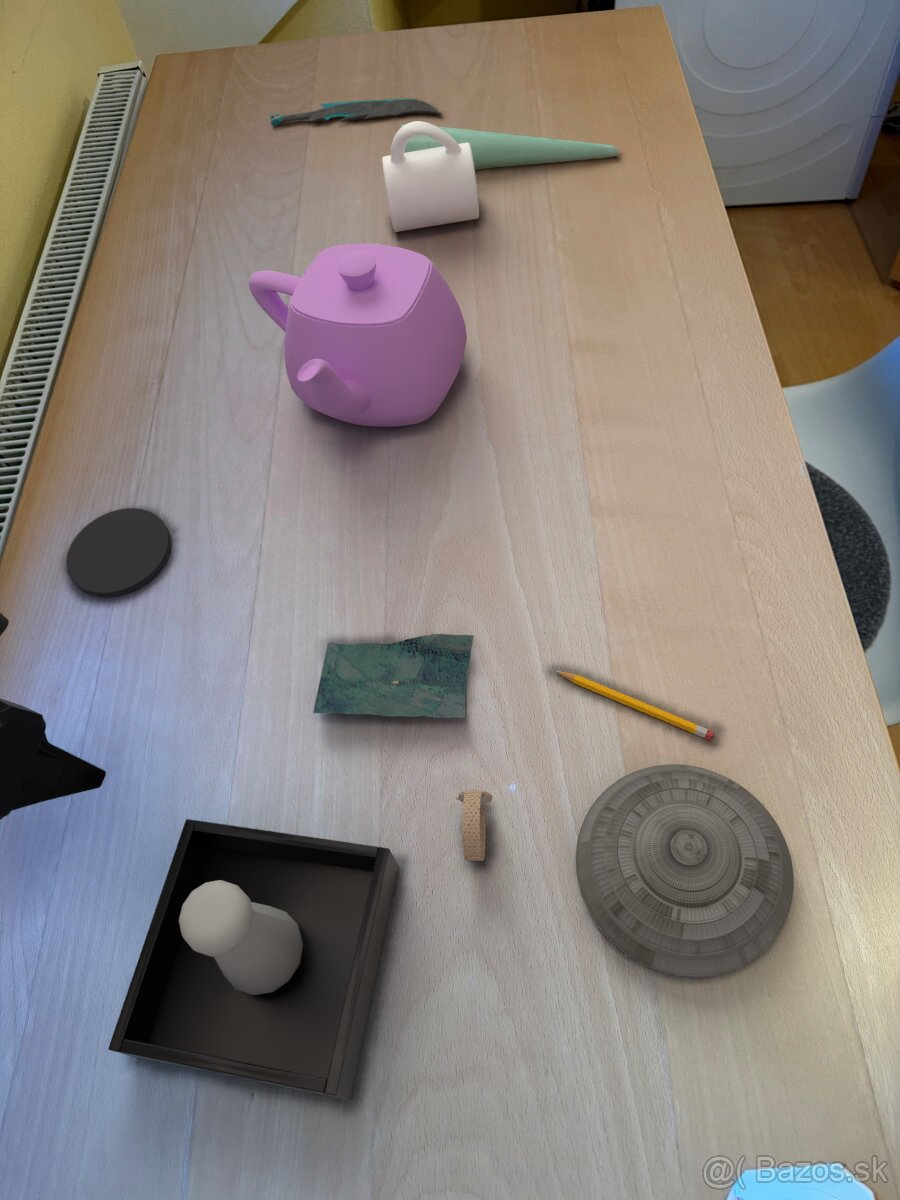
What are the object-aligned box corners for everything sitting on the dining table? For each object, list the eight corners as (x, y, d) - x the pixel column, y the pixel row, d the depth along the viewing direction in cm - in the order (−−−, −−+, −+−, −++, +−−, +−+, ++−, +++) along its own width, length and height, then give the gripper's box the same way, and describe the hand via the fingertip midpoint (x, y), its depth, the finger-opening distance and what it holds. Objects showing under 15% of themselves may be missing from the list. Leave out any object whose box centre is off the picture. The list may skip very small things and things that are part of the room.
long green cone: (620, 125, 107) (397, 139, 111) (618, 169, 112) (404, 181, 115) (619, 100, 110) (402, 115, 113) (617, 144, 114) (409, 156, 118)
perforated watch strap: (494, 807, 69) (489, 783, 65) (493, 869, 67) (488, 848, 62) (459, 807, 70) (452, 783, 65) (457, 869, 67) (450, 848, 63)
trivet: (82, 614, 84) (78, 609, 83) (60, 539, 89) (56, 534, 88) (183, 569, 85) (180, 564, 84) (156, 498, 90) (153, 493, 90)
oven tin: (135, 1057, 62) (107, 1049, 59) (206, 837, 70) (185, 818, 67) (351, 1101, 59) (336, 1095, 56) (399, 866, 68) (389, 848, 64)
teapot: (308, 316, 103) (271, 195, 90) (484, 338, 98) (471, 214, 85) (223, 465, 92) (168, 351, 79) (417, 500, 87) (390, 384, 74)
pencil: (710, 742, 70) (711, 738, 70) (553, 676, 75) (553, 672, 74) (713, 733, 71) (714, 730, 70) (557, 668, 75) (557, 664, 75)
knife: (274, 109, 128) (268, 129, 125) (272, 101, 127) (266, 121, 124) (445, 98, 125) (442, 118, 122) (444, 91, 124) (441, 111, 121)
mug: (481, 232, 108) (472, 135, 98) (396, 246, 108) (378, 151, 98) (473, 192, 112) (464, 95, 102) (391, 206, 113) (374, 110, 103)
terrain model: (315, 724, 75) (310, 713, 73) (329, 644, 79) (324, 632, 77) (469, 726, 73) (467, 715, 71) (475, 644, 77) (473, 633, 76)
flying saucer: (830, 857, 64) (850, 832, 60) (711, 1031, 59) (723, 1018, 55) (654, 735, 71) (659, 704, 66) (533, 882, 66) (530, 860, 61)
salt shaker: (263, 900, 67) (204, 846, 56) (326, 940, 65) (276, 892, 54) (215, 973, 64) (142, 931, 54) (277, 1017, 62) (215, 983, 51)
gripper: (-66, 577, 45) (189, 672, 56) (-165, 550, 57) (59, 631, 69) (-168, 794, 43) (119, 848, 54) (-247, 716, 55) (-2, 773, 66)
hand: (70, 762), depth 61 cm, fingers open, 9 cm apart
